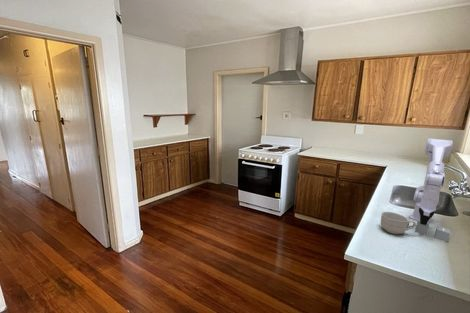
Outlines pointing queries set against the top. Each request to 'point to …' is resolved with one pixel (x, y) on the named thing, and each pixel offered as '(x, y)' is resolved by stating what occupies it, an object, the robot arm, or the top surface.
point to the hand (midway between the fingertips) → (423, 224)
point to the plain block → (421, 228)
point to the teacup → (395, 223)
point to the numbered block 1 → (442, 233)
